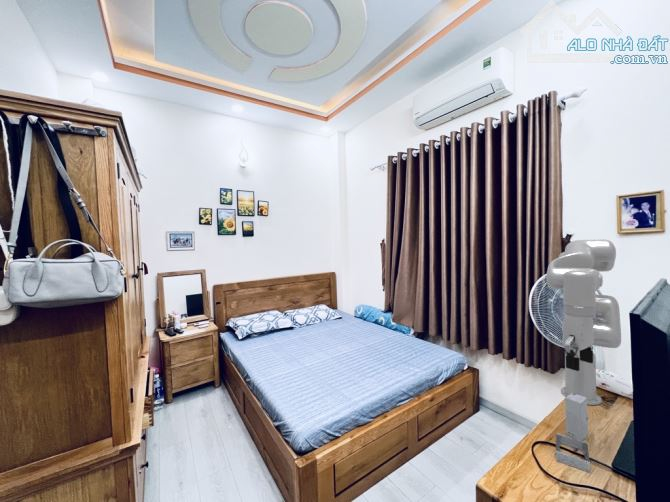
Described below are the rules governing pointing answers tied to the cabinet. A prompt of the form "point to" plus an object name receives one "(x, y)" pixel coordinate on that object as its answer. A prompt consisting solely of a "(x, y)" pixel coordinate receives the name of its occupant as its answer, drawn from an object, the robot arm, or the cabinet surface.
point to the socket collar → (568, 458)
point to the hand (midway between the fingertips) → (579, 365)
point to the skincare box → (576, 416)
